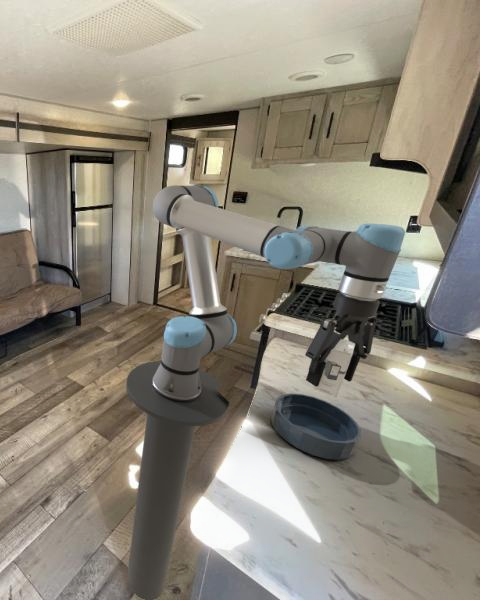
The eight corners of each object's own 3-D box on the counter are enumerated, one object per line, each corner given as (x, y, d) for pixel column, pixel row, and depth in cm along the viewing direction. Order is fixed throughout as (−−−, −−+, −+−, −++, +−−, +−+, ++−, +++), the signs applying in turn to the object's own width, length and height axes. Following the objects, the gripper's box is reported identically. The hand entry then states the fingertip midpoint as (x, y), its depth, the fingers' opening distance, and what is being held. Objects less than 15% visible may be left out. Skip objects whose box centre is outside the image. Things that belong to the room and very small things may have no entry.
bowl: (255, 415, 91) (260, 398, 89) (307, 406, 96) (312, 390, 93) (311, 468, 75) (319, 448, 73) (371, 455, 79) (380, 436, 77)
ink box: (317, 375, 84) (331, 335, 80) (341, 383, 81) (356, 341, 77) (311, 389, 78) (326, 346, 74) (336, 398, 75) (353, 354, 71)
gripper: (335, 304, 65) (305, 395, 73) (415, 298, 70) (378, 384, 78) (303, 292, 72) (279, 377, 80) (378, 287, 77) (348, 367, 85)
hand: (328, 380), depth 79 cm, fingers closed on ink box, 9 cm apart
